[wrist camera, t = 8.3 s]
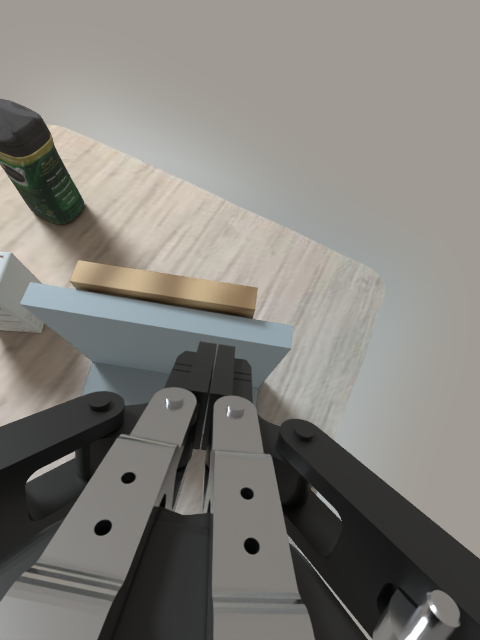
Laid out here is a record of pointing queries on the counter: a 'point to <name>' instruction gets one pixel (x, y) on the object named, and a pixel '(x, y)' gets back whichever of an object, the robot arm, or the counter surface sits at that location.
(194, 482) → the counter surface
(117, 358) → the bookend
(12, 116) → the coffee jar
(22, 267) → the supplement box
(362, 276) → the counter surface
